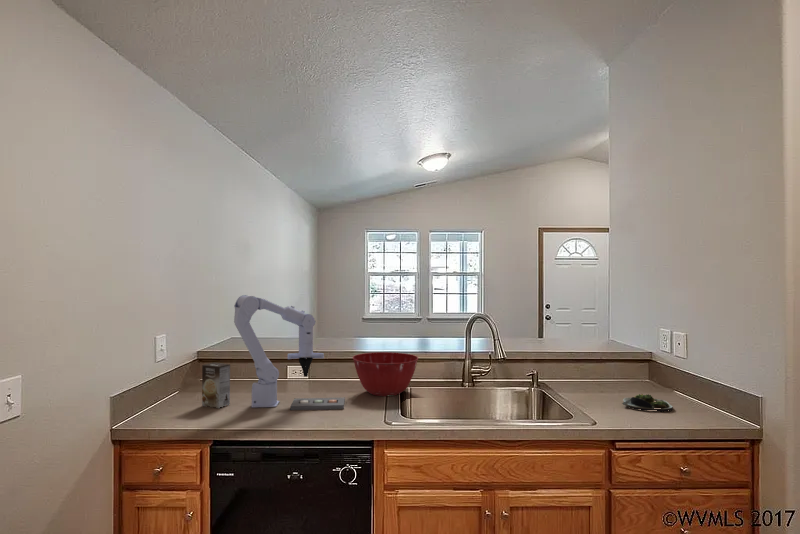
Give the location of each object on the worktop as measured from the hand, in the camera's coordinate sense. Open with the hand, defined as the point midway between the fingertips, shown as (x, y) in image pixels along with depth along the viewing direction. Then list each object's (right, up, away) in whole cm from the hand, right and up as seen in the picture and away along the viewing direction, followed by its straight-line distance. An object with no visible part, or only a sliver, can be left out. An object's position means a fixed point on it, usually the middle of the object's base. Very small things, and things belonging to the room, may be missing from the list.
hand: (305, 376), depth 212 cm
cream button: (+1, -9, -10) cm, 14 cm away
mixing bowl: (+32, -10, +11) cm, 36 cm away
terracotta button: (+12, -9, -10) cm, 18 cm away
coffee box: (-33, -10, -9) cm, 36 cm away
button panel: (+7, -9, -10) cm, 15 cm away
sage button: (+7, -9, -10) cm, 15 cm away
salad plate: (+133, -10, -13) cm, 134 cm away
